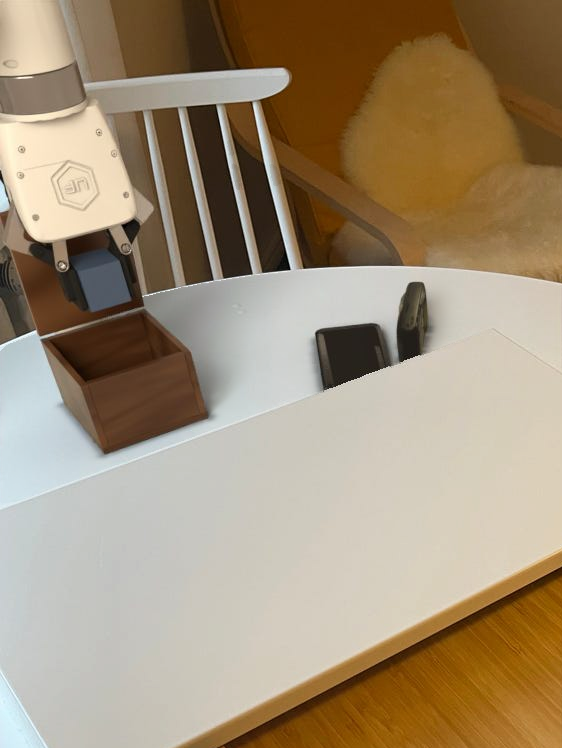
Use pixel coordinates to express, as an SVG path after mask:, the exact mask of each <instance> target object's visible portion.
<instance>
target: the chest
mask: <svg viewBox="0 0 562 748" xmlns="http://www.w3.org/2000/svg"><path fill="white" fill-rule="evenodd" d="M39 341H40V343H41V346H42V348H43V351H44V354H45V356H46V360H47V362H48V365H49V367H50V371H51V373H52V375H53V378H54V381H55V383H56V387H57V389H58V392H59V394H60V397H61V400H62V402H63V404H64V406H65V408H66V409H67V410H68V411H69V412H70V413H71V415H72V416H73V417H74V419H75V420H76V422H78V423H79V425H80V426H81V427H82V429H83V430H84V431H85V432H86V433H87V435H88V436H89V437H90V438H91V440H92V441H93V443H95V445H96V446H97V447H98V448H99V450H100V451H101V452H102V453H103V455H107V454H110V453H113V452H115V451H119V450H121V449H124V448H127V447H130V446H133V445H135V444H138V443H141V442H143V441H146V440H150V439H152V438H155V437H158V436H160V435H163V434H166V433H169V432H172V431H175V430H178V429H180V428H183V427H187V426H189V425H191V424H194V423H198V422H201V421H203V420H206V419H208V413H207V409H206V405H205V401H204V398H203V393H202V389H201V386H200V382H199V378H198V374H197V370H196V367H195V366H196V365H195V362H194V359H193V354H192V351H191V350H190V349H189V348H188V347H187V346H186V345H185V344H183V342H181V341H180V339H178V338H177V337H176V336H175V335H173V333H172V332H170V331H169V330H168V329H167V328H166V327H165V326H164V325H163V324H162V323H161V322H160V321H159V320H157V319H156V318H155V317H154V316H153V315H152V313H150V312H149V311H148V310H147V309H145V308H142V309H141V308H140V309H138V310H135V311H134V310H133V311H132V312H128V313H125V314H121V315H118V316H117V315H116V316H114V317H111V318H108V319H107V320H104V321H101V322H97V323H94V324H90V325H87V326H84V327H80V328H77V329H73V330H70V331H67V332H63V333H60V334H56V335H55V334H53V335H50V336H46V337H44V338H43V337H42V338H40V339H39Z"/></svg>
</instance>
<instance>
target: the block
mask: <svg viewBox="0 0 562 748" xmlns="http://www.w3.org/2000/svg"><path fill="white" fill-rule="evenodd" d="M68 260H69V261H70V263H71V266H72V267H73V268H74V269H75V270H76V271H77V273H78V276H79V279H80V282H81V285H82V288H83V291H84V294H85V297H86V300H87V303H88V306H89V308H88V309H89V310H90V311H91V312H96V311H99V310H102V309H106V308H109V307H112V306H116V305H119V304H122V303H126V302H129V301H131V297H130V294H129V290H128V287H127V284H126V280H125V277H124V274H123V270H122V267H121V264H120V261H119V260H118V259H117V258H116V257H115V256H114V255H113V254H112V253H110V252H109V251H108V250H107V249H106V248H105V247H104V248H100V249H96V250H93V251H89V252H85V253H82V254H78V255H74V256H71V257H68Z"/></svg>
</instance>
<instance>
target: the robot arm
mask: <svg viewBox="0 0 562 748" xmlns="http://www.w3.org/2000/svg"><path fill="white" fill-rule="evenodd" d="M0 170H1V173H2V176H3V180H4V183H5V187H6V190H7V193H8V197H9V200H10V203H11V205H10V206H9V209H8V210H9V213H8V217H7V221H6V225H5V229H4V231H3V232H2V233H3V234H2V238H1V240H2V243H3V244H4V245H5V246H6V247H7V249H9V250H10V249H11V250H14V251H17V252H20V253H23V254H27V255H31V256H34V257H35V258H37V259H39V260H41V261H43V262H44V263H46V264H48V265H50V266H52V267H54V268H55V270H56V273H57V276H58V279H59V282H60V284H61V287H62V290H63V293H64V295H65V297H66V299H67V300H68V302H72V301H73V302H74V303H75V304H76V305H77V307H78V308H79V309H80V310H81V311H82V312H83V311H86V310H88V308H89V306H88V303H87V300H86V297H85V294H84V291H83V288H82V285H81V282H80V279H79V276H78V273H77V271H76V270H75V269H74V268H73V267H72V266H71V263H70V261H69V260H68V254H67V247H66V239H70V238H74V237H78V236H82V235H86V234H89V233H93V232H97V231H101V230H104V232H105V234H106V236H107V238H108V239H109V241H110V243H109V247H108V251H109V252H110V253H112V254H113V255H114V256H115V257H116V258H117V259H118V260H119V261H120V264H121V267H122V270H123V274H124V277H125V280H126V284H127V287H128V290H129V294H130V297H133V296H136V294H135V290H134V287H133V283H137V280H136V276H135V273H134V269H133V266H132V262H131V259H130V255H129V254H130V253H131V251H133V247H132V245H133V243H134V241H135V239H136V238H137V236H138V234H139V232H140V230H141V226H142V225H144V224H145V223H146V221H147V220H148V219H150V217H151V216H152V214H153V213H154V211H155V207H154V205H153V204H152V202H150V201H149V200H148V198H146V197H145V196H144V195H143V194H142V193H141V192H140V191H139V190H138V189H137V188H136V187H135V186H134V184H133V185H132V181H131V178H130V176H129V173H128V170H127V168H126V165H125V161H124V159H123V156H122V153H121V151H120V148H119V145H118V142H117V140H116V138H115V135H114V132H113V130H112V128H111V125H110V123H109V121H108V118H107V116H106V114H105V112H104V110H103V108H102V105H101V103H100V102H99V99H96V98H94V97H92V96H89V95H87V92H86V89H85V86H84V82H83V78H82V75H81V71H80V68H79V65H78V61H77V59H76V55H75V51H74V47H73V43H72V40H71V37H70V33H69V30H68V26H67V22H66V19H65V16H64V12H63V9H62V5H61V2H60V0H0ZM25 229H26V231H27V232H28V234H29V235H30V236H31V237H32V238H34V239H35V240H31V239H28V238H26V237H24V230H25ZM38 241H39V242H38ZM40 242H43V243H44V245H43V244H41V243H40Z"/></svg>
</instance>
